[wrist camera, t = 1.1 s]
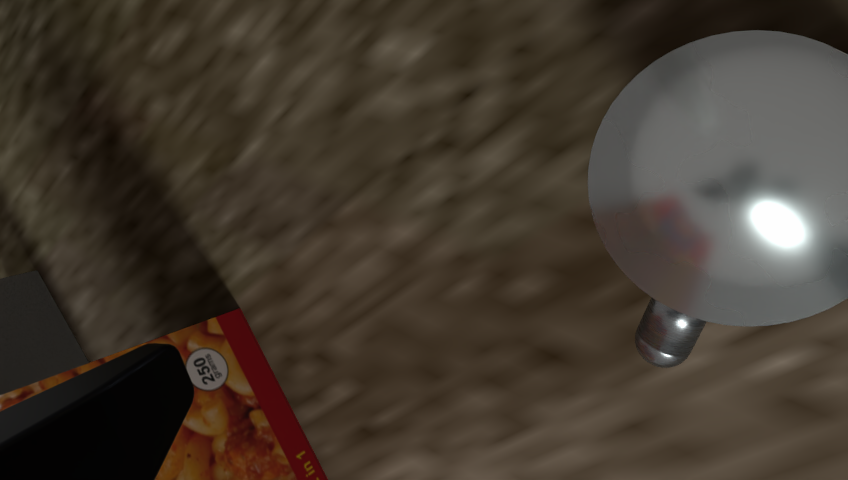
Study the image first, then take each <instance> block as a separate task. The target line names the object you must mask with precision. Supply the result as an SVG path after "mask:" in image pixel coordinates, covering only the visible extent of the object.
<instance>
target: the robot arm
mask: <svg viewBox="0 0 848 480" xmlns="http://www.w3.org/2000/svg"><path fill="white" fill-rule="evenodd" d="M193 399H194V386H193V383H192V381H191V378H190V376H189V374H188V371H187V369H186V366H185V364H184V362H183V359H182V357H181V354H180V352H179V350H178V349H177V348H176V347H175V346H173V345H171V344H159V343H149V344H145V345H143V346H140V347H138V348H136V349H134V350H132V351H130V352H128V353H125V354H123V355H121V356H119V357H117V358H115V359H112V360H110V361H108V362H106V363H104V364H102V365H99V366H97V367H95V368H93V369H91V370H89V371H86V372H84V373H82V374H80V375H78V376H76V377H73V378H71V379H69V380H67V381H65V382H63V383H60V384H58V385H56V386H54V387H52V388H50V389H47V390H45V391H43V392H41V393H39V394H37V395H34V396H32V397H30V398H28V399H26V400H24V401H21V402H19V403H17V404H15V405H13V406H11V407H8V408H6V409H4V410H2V411H0V480H155V478H156V476H157V474H158V472H159V470H160V468H161V466H162V464H163V462H164V460H165V458H166V456H167V454H168V452H169V450H170V448H171V446H172V444H173V442H174V440H175V438H176V436H177V433H178V431H179V429H180V427H181V425H182V423H183V421H184V419H185V417H186V415H187V413H188V411H189V409H190V407H191V405H192V402H193Z"/></svg>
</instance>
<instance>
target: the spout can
mask: <svg viewBox="0 0 848 480" xmlns="http://www.w3.org/2000/svg"><path fill="white" fill-rule="evenodd" d="M588 192H589V202H590V207H591V211H592V216H593V220H594V222H595V225H596V228H597V231H598V234H599V236H600V238H601V240H602V242H603V244H604V246H605V248H606V249H607V251H608V252H609V254H610V255H611V257H612V258H613V260H614V261H615V263H616V264H617V265H618V266H619V268H620V269H621V270H622V271H623V272H624V274H625V275H626V276H627V277H628V278H629V279H630V280H631V281H632V282H634V283H635V284H636V285H637V286H638V287H639V288H640V289H641V290H643V291H644V292H646V293H647V294H648V295H650V296H651V297H652V298H651V300H650V302H649V304H648V306H647V308H646V311H645V313H644V315H643V317H642V319H641V321H640V324H639V326H638V328H637V331H636V335H635V343H636V347H637V350H638V352H639V353H640V355H641V356H642V357H643V359H645V360H646V361H647V362H649V363H650V364H652V365H655V366H657V367H663V368H669V367H674V366H677V365H679V364H681V363H682V362H683V361H684V360H685V359H687V357H688V356H689V354H690V353H691V351H692V349H693V347H694V345H695V343H696V341H697V339H698V337H699V335H700V333H701V332H702V330H703V328H704V326H705V324H706V322H713V323H718V324H724V325H733V326H769V325H775V324H781V323H788V322H792V321H795V320H799V319H803V318H806V317H810V316H812V315H815V314H817V313H819V312H822V311H824V310H827V309H829V308H831V307H833V306H835V305H836V304H838V303H840V302H842V301H843V300H845V299H847V298H848V54H846V53H844V52H842V51H840V50H838V49H836V48H833V47H831V46H829V45H827V44H825V43H822V42H819V41H816V40H813V39H810V38H807V37H804V36H800V35H795V34H790V33H784V32H779V31H762V30H750V31H735V32H729V33H723V34H718V35H713V36H709V37H706V38H703V39H700V40H697V41H693V42H690V43H688V44H686V45H684V46H682V47H679V48H677V49H675V50H673V51H671V52H669V53H667V54H666V55H664V56H663V57H661V58H659V59H658V60H656V61H654V62H653V63H652V64H650V65H649V66H648V67H647V68H645V69H644V70H643V71H641V72H640V73H639V74H638V75H637V76H636V77H635V78H634V79H633V80H632V81H631V82H630V83H629V84H628V85H627V86H626V87H625V88H624V89H623V90H622V92H621V93H620V94H619V95H618V97H617V98H616V99H615V100H614V102H613V103H612V105H611V107H610V108H609V110H608V111H607V113H606V115H605V116H604V118H603V120H602V123H601V125H600V127H599V129H598V132H597V134H596V137H595V140H594V144H593V147H592V150H591V156H590V162H589V168H588Z"/></svg>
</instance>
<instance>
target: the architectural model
mask: <svg viewBox="0 0 848 480" xmlns="http://www.w3.org/2000/svg"><path fill="white" fill-rule="evenodd" d="M88 363H89V362H88V360H87V358H86V357H85V355H84V353H83V351H82V350H81V348H80V346H79V344H78V342H77V341H76V339H75V337H74V335H73V333H72V332H71V330H70V328H69V326H68V324H67V323H66V321H65V319H64V317H63V316H62V314H61V312H60V310H59V308H58V307H57V305H56V303H55V301H54V299H53V298H52V296H51V294H50V292H49V291H48V289H47V287H46V285H45V283H44V282H43V280H42V278H41V276H40V274H39V273H38V271H37V270H36V271H32V272H28V273H23V274H19V275H15V276H10V277H6V278H2V279H0V395H3V394H5V393H8V392H11V391H14V390H16V389H19V388H22V387H25V386H27V385H30V384H33V383H36V382H38V381H41V380H44V379H47V378H49V377H52V376H55V375H58V374H60V373H63V372H66V371H69V370H71V369H74V368H77V367H80V366H82V365H85V364H88Z"/></svg>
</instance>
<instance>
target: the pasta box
mask: <svg viewBox="0 0 848 480" xmlns="http://www.w3.org/2000/svg"><path fill="white" fill-rule="evenodd" d="M149 343H159V344H171V345H173V346H175V347H176V348H177V349H178V350H179V352H180V354H181V357H182V359H183V362H184V364H185V366H186V369H187V371H188V374H189V376H190V378H191V381H192V383H193V386H194V399H193V402H192V405H191V407H190V409H189V411H188V413H187V415H186V417H185V419H184V421H183V423H182V425H181V427H180V429H179V431H178V433H177V436H176V438H175V440H174V442H173V444H172V446H171V448H170V450H169V452H168V454H167V456H166V458H165V460H164V462H163V464H162V466H161V468H160V470H159V472H158V474H157V476H156V478H155V480H328V479H327V477H326V475H325V473H324V471H323V469H322V467H321V465H320V463H319V461H318V459H317V457H316V455H315V453H314V451H313V449H312V448H311V446H310V444H309V442H308V440H307V438H306V436H305V434H304V432H303V430H302V428H301V426H300V424H299V422H298V420H297V418H296V416H295V414H294V412H293V410H292V408H291V406H290V405H289V403H288V401H287V399H286V397H285V395H284V393H283V391H282V389H281V387H280V385H279V383H278V381H277V379H276V377H275V375H274V373H273V371H272V369H271V367H270V365H269V363H268V362H267V360H266V358H265V356H264V354H263V352H262V350H261V348H260V346H259V344H258V342H257V340H256V338H255V336H254V334H253V332H252V330H251V328H250V326H249V324H248V322H247V320H246V319H245V317H244V315H243V313H242V311H241V309H240V308H239V309H236V310H234V311H231V312H228V313H225V314H223V315H220V316H217V317H214V318H212V319H209V320H206V321H203V322H201V323H198V324H195V325H192V326H190V327H187V328H184V329H181V330H179V331H176V332H173V333H170V334H168V335H165V336H162V337H159V338H157V339H154V340H151V341H148V342H146V343H143V344H140V345H137V346H135V347H132V348H129V349H126V350H124V351H121V352H118V353H115V354H113V355H110V356H107V357H104V358H102V359H99V360H96V361H93V362H91V363H88V364H85V365H82V366H80V367H77V368H74V369H71V370H69V371H66V372H63V373H60V374H58V375H55V376H52V377H49V378H47V379H44V380H41V381H38V382H36V383H33V384H30V385H27V386H25V387H22V388H19V389H16V390H14V391H11V392H8V393H5V394H3V395H0V411H2V410H4V409H6V408H8V407H11V406H13V405H15V404H17V403H19V402H21V401H24V400H26V399H28V398H30V397H32V396H34V395H37V394H39V393H41V392H43V391H45V390H47V389H50V388H52V387H54V386H56V385H58V384H60V383H63V382H65V381H67V380H69V379H71V378H73V377H76V376H78V375H80V374H82V373H84V372H86V371H89V370H91V369H93V368H95V367H97V366H99V365H102V364H104V363H106V362H108V361H110V360H112V359H115V358H117V357H119V356H121V355H123V354H125V353H128V352H130V351H132V350H134V349H136V348H138V347H140V346H143V345H145V344H149Z"/></svg>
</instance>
